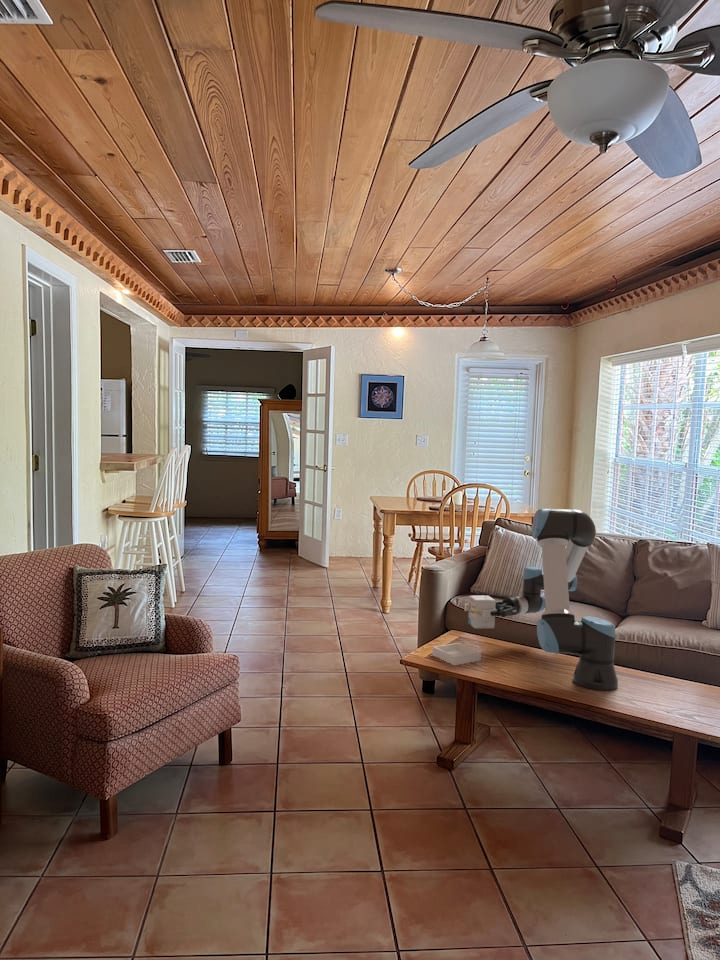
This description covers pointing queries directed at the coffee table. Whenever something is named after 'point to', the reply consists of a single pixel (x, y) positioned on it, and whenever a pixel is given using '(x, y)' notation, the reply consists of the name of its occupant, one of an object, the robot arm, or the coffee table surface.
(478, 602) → the ink box
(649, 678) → the coffee table surface
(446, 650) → the open white box
